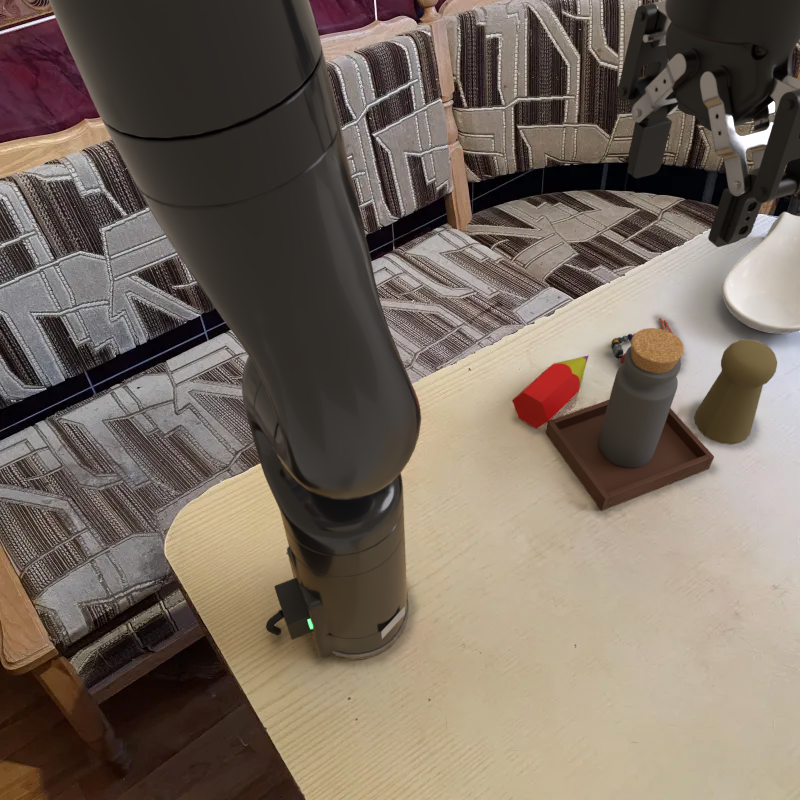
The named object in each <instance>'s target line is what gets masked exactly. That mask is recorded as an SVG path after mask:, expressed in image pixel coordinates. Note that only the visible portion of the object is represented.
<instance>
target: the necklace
mask: <svg viewBox="0 0 800 800" xmlns="http://www.w3.org/2000/svg"><path fill="white" fill-rule="evenodd" d="M658 320H659V321H660V323H661V329H663V330H666V329H667V331H669V332H671V333H673V331H672V329H671V328H670V326H669V323H668V321H667V320H666V319H664V320H663V319H662V318H661V317H659V318H658ZM665 327H666V328H665ZM636 333H637V332H635V333H634V334H636ZM634 334H632V333H628V334H627V335H623V336H619V337H615V338H613V339H612V340H611V344H610V346H611V351H612V354H613V356H614V358H615V359H616V360H619V359H620V361H619V363H620V366H621V365H622V364H623V363H624V357H625V354H626V352H625V353H624V349H623V347H622V346H621V344H623V343H627V342H628V341H631V340H632V337H633V336H634ZM681 359H682V356H681V357H680V360H681Z"/></svg>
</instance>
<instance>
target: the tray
mask: <svg viewBox="0 0 800 800" xmlns="http://www.w3.org/2000/svg"><path fill="white" fill-rule="evenodd" d="M608 402H609V399H606V400H604V401H601V402H597V403H594V404H593V405H588V406H587V407H584V408H581V409H579V410H575V411H573V412H570V413H566V414H563V415H561V416H558V417H556V418H552V419H550V420H549V421H548V422H547V423H546V426H545V427H546V428H545V433H544V434H545V435H546V437H547V438H548V439H549V441H550V442H551V443H552V445H553V446H554V448H555V450H556V451H557V452H558V453H559V454H560V456H561V457H562V458H563V460H564V461H565V463H566V464H567V466H568V467H569V468H570V470H571V471H572V473H573V474H574V475H575V477H576V478H577V479H578V481H579V482H580V484H581V485H582V486H583V488H584V489H585V490H586V492H587V493H588V495H589V496H590V497H591V499H592V500H593V501H594V503H595V504H596V505H597V507H598V508H599V510H600V511H602V512H603V511H605V510H607V509H611V508H612V507H615V506H618V505H621V504H623V503H626V502H628V501H631V500H633V499H635V498H638V497H641V496H643V495H646V494H648V493H651V492H654V491H657V490H659V489H661V488H663V487H666V486H669V485H671V484H674V483H677V482H679V481H681V480H684V479H688V478H689V477H693V476H694V475H697V474H699V473H703V472H705V471H707V470H709V469H710V467H711V465H712V463H713V461H714V459H715V455H714V454H713V453H711V451H710V450H709V449H708V447H706V446H705V444H704V443H703V442H702V441H701V440H700V439H699V438H698V436H697V435H695V433H694V432H693V431H692V430H691V429H690V427H688V425H686V423H685V422H684V421H683V420H682V419H681V418H680V417H679V416H678V414H677V413H676V412H675V411H674V410H673V409H672V408H670V410H669V413H668V416H667V419H666V422H665V425H664V428H663V430H662V433H661V436H660V439H659V441H658V444H657V447H656V450H655V452H654V455H653V457H652V459H651V460H650V461H649V462H648V463H647V464H645V465H643V466H640V467H636V468H626V467H621V466H618V465H615V464H613V463H612V462H610V461H609V460H607V459H606V458H605V457H604V456H603V454H602V453H601V451H600V448H599V437H600V433H601V429H602V425H603V421H604V417H605V413H606V410H607V406H608Z"/></svg>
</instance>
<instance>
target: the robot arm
mask: <svg viewBox="0 0 800 800" xmlns="http://www.w3.org/2000/svg"><path fill="white" fill-rule="evenodd" d="M48 3H49V5H50V8H51V10H52V12H53V14H54V17H55V20H56V22H57V24H58V26H59V29H60V32H61V34H62V36H63V38H64V40H65V43H66V45H67V47H68V50H69V52H70V54H71V57H72V59H73V61H74V63H75V66H76V68H77V70H78V73H79V75H80V77H81V79H82V82H83V83H84V86H85V87H86V88H85V89H86V90H87V92H88V94H89V97H90V99H91V101H92V103H93V105H94V107H95V110H96V111H97V113H98V115H99V117H100V119H101V120H102V121H101V122H102V123H103V125H104V126H105V128H106V131H107V132H108V134H109V136H110V139H111V140H112V142H113V144H114V146H115V148H116V149H117V151H118V153H119V155H120V157H121V159H122V161H123V163H124V165H125V167H126V169H127V171H128V173H129V175H130V176H131V179H132V180H133V182H134V184H135V186H136V188H137V189H138V192H139V194H140V195H141V197H142V199H143V201H144V203H145V204H146V205H147V208H148V209H149V210H150V212H151V214H152V216H153V217H154V219H155V221H156V222H157V224H158V226H159V227H160V229H161V231H162V232H163V234H164V235H165V237H166V238H167V240H168V242H169V243H170V245H171V247H172V248H173V249H174V250H175V252H176V254H177V255H178V257H179V259H180V260H181V261H182V263H183V265H184V266H185V268H186V269H187V270H188V272H189V273H190V275H191V276H192V278H193V279H194V281H195V282H196V283H197V285H198V286H199V288H200V289H201V290H202V292H203V293H204V295H205V297H206V298H207V299H208V300H209V302H210V303H211V304H212V306H213V307H214V309H215V310H216V312H217V313H218V314H219V316H220V317H221V319H222V320H223V322H225V324H226V325H227V327H228V328H229V329H230V331H231V332H232V334H233V335H234V336H235V338H236V339H237V340H238V342H239V343H240V344H241V346H242V347H243V349H244V350H245V352H246V353H247V355H248V356H247V358H246V361H245V363H244V367H243V370H242V371H243V372H242V378H241V396H242V402H243V408H244V412H245V415H246V419H247V422H248V426H249V428H250V432H251V436H252V439H253V442H254V446H255V449H256V452H257V453H256V454H257V455H258V456H257V457H258V459H259V461H260V466H261V469H262V472H263V475H264V478H265V481H266V482H267V486H268V487H269V489H270V492H271V494H272V496H273V498H274V501H275V503H276V505H277V507H278V510H279V513H280V516H281V519H282V524H283V528H284V532H285V537H286V540H287V544H288V546H287V548H286V552H287V557H288V561H289V565H290V569H291V573H292V576H293V578H291V579H289V580H286V581H283V582H281V583H278V584H276V585H274V586H273V587H274V591H275V594H276V598H277V601H278V604H279V607H280V610H278V611H277V612H275V614H274V615H272V616H271V617H270V618H268V620H267V621H266V624H265V629H266V631H267V632H268V633H270V634H272V635H275V636H276V637H277V636H278V637H279V636H281V634H282V629H281V628H280V627H278V626H276V625H277V624H278V623H279V622H280V621H282V620H283V619H284V622H285V625H286V628H287V631H288V633H289V637H290V639H291V640H292V641H293V640H296V639H298V638H301V637H303V636H306V635H308V634H310V636H311V637H312V640H313V643H314V645H315V648H316V651H317V654H318V656H319V658H320V659H324V658H328V657H330V656H334V657H338V658H341V659H344V660H345V659H346V660H364V659H368V658H372V657H375V656H377V655H379V654H382V653H383V652H385V651H387V650H388V649H389V648H390V647H392V646H393V645H394V644H395V643H396V642H397V641H398V640H399V638H400V637H401V635H402V634H403V632H404V630H405V628H406V625H407V624H408V623H407V622H408V618H409V610H410V609H409V608H410V607H409V597H408V587H407V585H408V584H407V561H406V560H407V558H406V556H407V555H406V534H405V533H406V532H405V531H406V530H405V503H404V501H405V499H404V484H403V477H402V472H403V470H404V469H405V467H406V466H407V464H408V463H409V462H410V460H411V458H412V456H413V454H414V452H415V449H416V446H417V443H418V440H419V438H420V437H419V436H420V431H421V425H422V412H421V406H420V402H419V398H418V395H417V393H416V390H415V388H414V386H413V385H414V384H413V383H412V381H411V379H410V377H409V374H408V372H407V370H406V367H405V364H404V362H403V360H402V357H401V355H400V352H399V350H398V348H397V345H396V341H395V340H394V337H393V335H392V333H391V330H390V327H389V325H388V320H387V319H386V316H385V313H384V309H383V306H382V303H381V299H380V295H379V291H378V286H377V283H376V278H375V273H374V268H373V263H372V257H371V252H370V249H369V244H368V240H367V235H366V230H365V226H364V221H363V218H362V213H361V209H360V205H359V201H358V197H357V193H356V189H355V185H354V180H353V177H352V173H351V168H350V163H349V159H348V154H347V149H346V144H345V138H344V133H343V129H342V128H343V127H342V123H341V119H340V114H339V110H338V106H337V102H336V98H335V94H334V90H333V86H332V81H331V77H330V75H329V69H328V66H327V62H326V57H325V53H324V49H323V45H322V41H321V38H320V34H319V30H318V26H317V22H316V19H315V16H314V13H313V9H312V6H311V2H310V0H48ZM799 42H800V0H660V1H655V2H650V3H646V4H641V5H638V6H637V8H636V10H635V14H634V18H633V22H632V25H631V31H630V35H629V39H628V44H627V48H626V52H625V55H624V61H623V65H622V68H621V69H622V70H621V72H620V73H621V74H620V78H619V82H618V87H617V94H618V98H619V100H620V101H622V102H628V103H630V105H631V118H632V120H633V121H634V127H633V131H632V136H631V141H630V146H629V150H628V165H627V173H628V174H629V175H631V176H632V177H633V178H635V179H640V178H644V177H648V176H651V175H652V176H653V175H655V174H657V173H658V172H659V171H660V168H662V163H663V158H664V156H665V152H666V147H667V144H668V140H669V135H670V131H671V129H672V128H671V127H672V123H673V120H671V119H670V118H668V116H671V115H672V114H674V113H675V112H676V111H677V110H679V111H680V112H682V113H683V114H685V115H689V116H693V117H694V118H696V119H697V121H698V122H699V123H700V125H701V126H702V127H703V128H705V129H706V130H708V131H709V132H711V136H712V142H713V148H714V152H715V154H716V155H717V156H719V157H721V158H722V159H723V163H724V169H725V174H726V175H725V176H726V181H727V188H724V189H723V190H722V194H721V197H720V200H719V202H718V206H717V210H716V212H715V215H714V218H713V222H712V224H711V227H710V230H709V232H708V233H709V234H708V237H707V239H708V241H709V242H710V243H712V245H714V246H715V247H716V248H721V247H724V246H728V245H732V244H734V243H738V242H739V241H741V240H743V239H746V238H748V236H750V234H752V232H753V229H754V226H755V225H754V224H755V223H756V222H757V221H756V220H757V218H758V215H759V213H760V211H761V207H762V205H763V204H765V203H768V202H771V201H773V200H776V199H779V198H783V197H786V196H791V195H792V196H793V195H795V194H798V193H800V79H799V78H797V77H794V76H793V75H792V74H793V73H792V71H793V70H792V62H793V61H792V59H793V53H794V50H795V47H796V46H797V44H798V43H799ZM644 66H646V69H645V74H644V76H641V77H640V75H641V71H642V69H643V68H644ZM752 119H753V130H752V131H751V133H750V134H745V135H739V134H738V133H737V131H736V127H740V126H742V125H744V124H747V123H748V122H749V121H751V120H752ZM748 150H749V151H750V152H751V156H752V163H753V169H750V170H749V166H748V165H749V164H748V160H747V152H748Z"/></svg>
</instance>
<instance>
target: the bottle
mask: <svg viewBox="0 0 800 800" xmlns="http://www.w3.org/2000/svg"><path fill="white" fill-rule="evenodd" d="M635 333H636V334H635ZM635 333H634V334H633V335H634V336H633V337H632V340H630V342H631V343H630V346H628V348H627V349H626V351H625V353H626V354H625V353H624V354H625V357H624V363H623V364H622V365H621V364H620V365H619V367H618V369H617V370H616V374H615V376H614V381H613V384H612V387H611V392H610V395H609V398H608V400H609V402H608V406H607V410H606V413H605V417H604V421H603V425H602V429H601V433H600V437H599V448H600V451H601V453H602V454H603V456H604V457H605V458H606V459H607V460H609V461H610V462H612V463H613V464H615V465H618V466H621V467H626V468H636V467H640V466H643V465H645V464H647V463H648V462H649V461H650V460H651V459H652V457H653V455H654V452H655V450H656V447H657V444H658V441H659V439H660V436H661V433H662V430H663V428H664V425H665V422H666V419H667V416H668V413H669V410H670V408H671V407H672V404H673V401H674V399H675V396H676V393H677V390H678V384H679V381H678V378H677V377H678V375H679V373H680V370H681V366H682V362H681V359H680V357H681V358H682V357H683V355H684V350H685V348H684V344H683V342H682V340H681V338H679V337H678V336H677V335H675V333H674V332H672V333H671V332H669V330H666V329H665V330H663V328H657V327H648V328H643V329H640V330H639V331H637V332H635ZM671 409H672V408H671Z"/></svg>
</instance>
